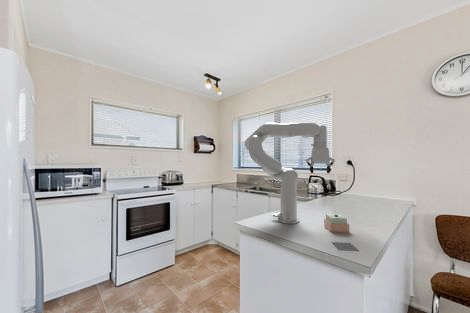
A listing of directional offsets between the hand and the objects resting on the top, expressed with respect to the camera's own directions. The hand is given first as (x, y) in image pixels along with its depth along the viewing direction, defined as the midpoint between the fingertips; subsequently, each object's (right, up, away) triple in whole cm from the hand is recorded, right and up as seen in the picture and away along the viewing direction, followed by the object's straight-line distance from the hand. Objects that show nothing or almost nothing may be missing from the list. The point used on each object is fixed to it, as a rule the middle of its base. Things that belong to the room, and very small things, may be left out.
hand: (320, 173), depth 123 cm
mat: (-7, -28, -40) cm, 49 cm away
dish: (0, -28, -20) cm, 34 cm away
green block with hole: (0, -24, -19) cm, 31 cm away
